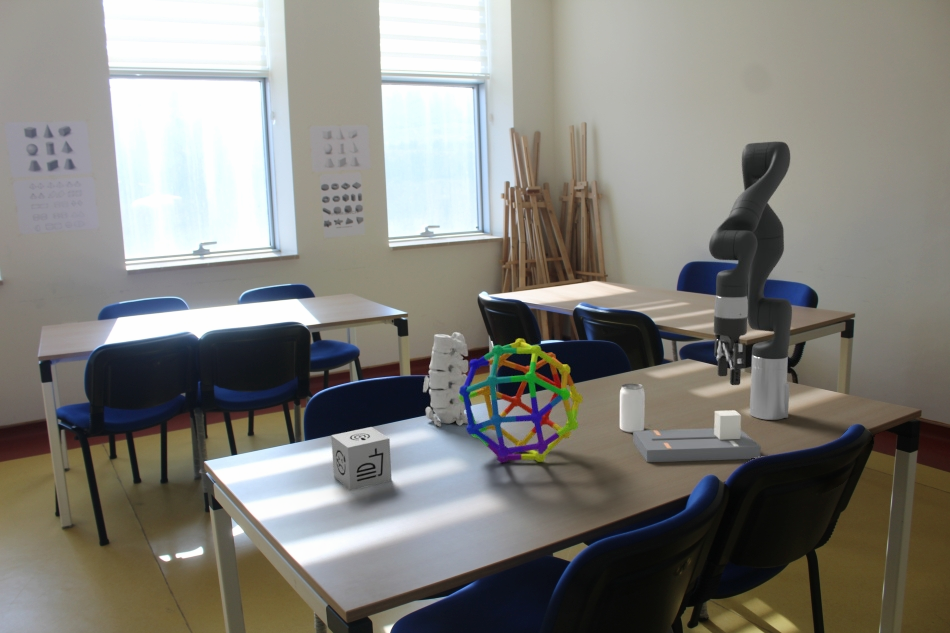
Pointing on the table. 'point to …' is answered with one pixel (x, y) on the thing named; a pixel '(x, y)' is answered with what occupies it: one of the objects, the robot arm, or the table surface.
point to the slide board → (692, 445)
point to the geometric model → (536, 416)
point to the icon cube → (361, 458)
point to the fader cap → (727, 424)
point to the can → (632, 407)
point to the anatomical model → (447, 379)
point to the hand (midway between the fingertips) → (728, 380)
